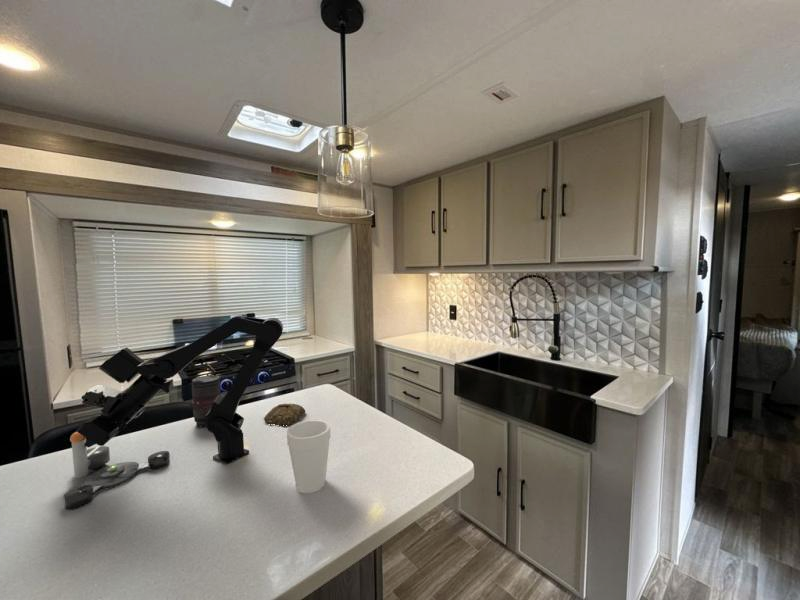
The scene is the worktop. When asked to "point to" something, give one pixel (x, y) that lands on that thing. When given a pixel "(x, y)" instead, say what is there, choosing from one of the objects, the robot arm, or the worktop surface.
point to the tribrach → (111, 478)
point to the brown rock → (284, 414)
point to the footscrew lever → (87, 455)
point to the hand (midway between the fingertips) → (87, 445)
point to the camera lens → (204, 397)
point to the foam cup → (309, 453)
